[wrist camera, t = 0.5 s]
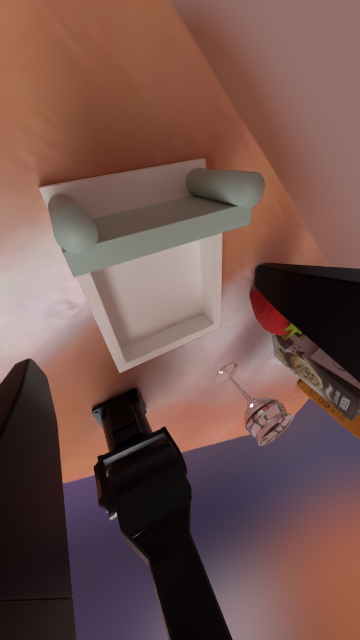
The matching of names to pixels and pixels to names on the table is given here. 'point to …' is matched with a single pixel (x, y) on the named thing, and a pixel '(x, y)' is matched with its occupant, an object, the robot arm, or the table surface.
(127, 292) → the cradle stand
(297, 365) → the coffee box
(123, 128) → the table surface
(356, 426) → the coffee package
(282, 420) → the wineglass
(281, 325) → the strawberry
